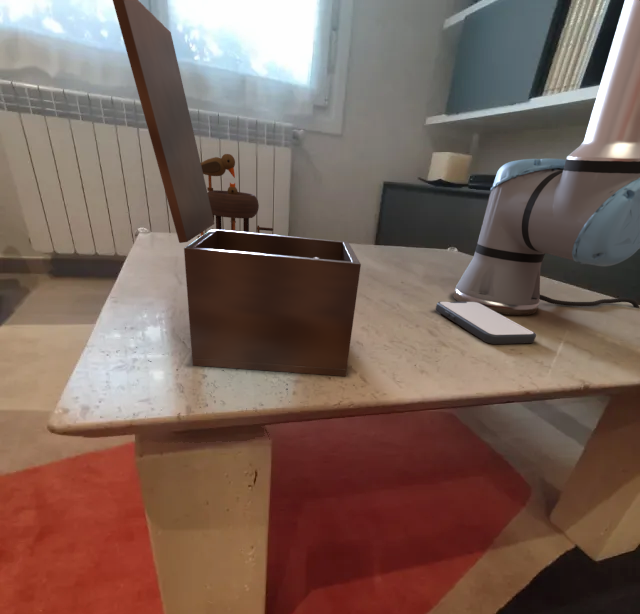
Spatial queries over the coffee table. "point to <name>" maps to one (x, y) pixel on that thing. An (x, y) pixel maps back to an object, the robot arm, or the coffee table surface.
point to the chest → (271, 302)
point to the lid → (166, 116)
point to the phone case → (485, 323)
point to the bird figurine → (229, 196)
